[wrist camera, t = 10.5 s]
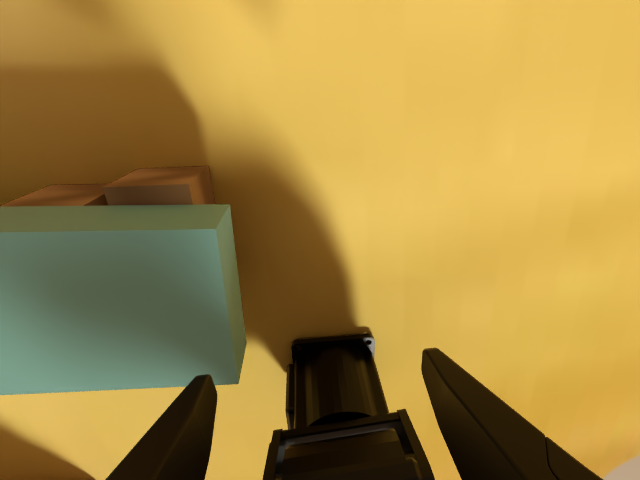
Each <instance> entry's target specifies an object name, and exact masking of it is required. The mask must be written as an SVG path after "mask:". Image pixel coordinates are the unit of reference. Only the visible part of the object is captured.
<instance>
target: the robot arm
mask: <svg viewBox="0 0 640 480" xmlns="http://www.w3.org/2000/svg"><path fill="white" fill-rule="evenodd" d="M367 340H369V341H367ZM296 346H300V347H296ZM291 349H292V358H293V363H292V364H289V365H288V366H287V383H286V417H287V424H288V430H282V429H279V430H274V431H273V436H272V441H271V443H270V444H269V449H268V454H267V460H266V465H265V470H264V475H263V480H435V479H434V475H433V473H432V470H431V467H430V464H429V462H428V459H427V457H426V455H425V452H424V450H423V448H422V446H421V443H420V441H419V439H418V437H417V434H416V432H415V430H414V427H413V425H412V423H411V421H410V418H409V416H408V414H407V412H406V409H402V410H397V412H393V413H389V411H388V407H387V404H386V400H385V397H384V393H383V389H382V386H381V382H380V379H379V375H378V372H377V368H376V365H375V361H374V349H375V341H374V337H373V336H372V335H371V334H361V335H349V336H337V337H325V338H313V339H301V340H295V341H293V342H292V346H291ZM421 369H422V375H423V378H424V382H425V385H426V388H427V391H428V394H429V397H430V401H431V404H432V407H433V410H434V413H435V416H436V419H437V422H438V425H439V428H440V430H441V433H442V435H443V437H444V440H445V442H446V444H447V447H448V449H449V451H450V454H451V456H452V458H453V461H454V463H455V465H456V467H457V470H458V472H459V474H460V477H461V479H462V480H603V479H602V478H600V477H599V476H598V475H596V474H595V473H593V472H592V471H591V470H589V469H588V468H587V467H585V466H584V465H583V464H581V463H580V462H579V461H577V460H576V459H575V458H574V457H572V456H571V455H570V454H568V453H567V452H566V451H565V450H563V449H562V448H561V447H560V446H558V445H557V444H556V443H555V442H553V441H552V440H551V439H550V438H548V437H545V435H544V434H543V433H542V432H541V431H540V430H538V429H537V428H536V427H535V426H533V425H532V424H531V423H530V422H528V421H527V420H526V419H525V418H523V417H522V416H521V415H520V414H518V413H517V412H516V411H515V410H514V409H512V408H511V407H510V406H509V405H507V404H506V403H505V402H504V401H502V400H501V399H500V398H499V397H497V396H496V395H495V394H494V393H492V392H491V391H490V390H489V389H488V388H486V387H485V386H484V385H483V384H481V383H480V382H479V381H478V380H476V379H475V378H474V377H473V376H471V375H470V374H469V373H468V372H466V371H465V370H464V369H463V368H461V367H460V366H459V365H458V364H457V363H455V362H454V361H453V360H452V359H450V358H449V357H448V356H447V355H445V354H444V353H443V352H442V351H440V350H439V349H438V348H428V349H424V350H423V354H422V367H421ZM216 405H217V391H216V388H215V385H214V382H213V379H212V377H211V375H210V374H205V375H198V376H196V377H194V379H193V380H192V381H191V382H190V383H189V384H188V385H187V387H186V388H185V389H184V390H183V391H182V392H181V393H180V395H179V396H178V397H177V398H176V399H175V400H174V402H173V403H172V404H171V405H170V406H169V407H168V408H167V410H166V411H165V412H164V413H163V414H162V415H161V416H160V418H159V419H158V420H157V421H156V422H155V423H154V424H153V426H152V427H151V428H150V429H149V430H148V431H147V433H146V434H145V435H144V436H143V437H142V438H141V439H140V441H139V442H138V443H137V444H136V445H135V446H134V447H133V449H132V450H131V451H130V452H129V453H128V454H127V455H126V457H125V458H124V459H123V460H122V461H121V462H120V464H119V465H118V466H117V467H116V468H115V469H114V470H113V472H112V473H111V474H110V475H109V476H108V477H107V478H106V480H204V479H205V475H206V470H207V466H208V462H209V457H210V451H211V445H212V437H213V429H214V421H215V413H216Z"/></svg>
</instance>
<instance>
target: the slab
mask: <svg viewBox="0 0 640 480" xmlns="http://www.w3.org/2000/svg"><path fill="white" fill-rule="evenodd" d="M246 343H247V342H246V334H245V326H244V318H243V309H242V301H241V293H240V284H239V276H238V268H237V260H236V251H235V243H234V235H233V226H232V218H231V210H230V204H200V205H109V206H18V207H0V395H14V394H35V393H57V392H78V391H99V390H121V389H142V388H164V387H185V386H187V385H188V384H189V383H190V382H191V381H192V380H193V379H194V377H196V376H198V375H205V374H210V375H211V377H212V379H213V382H214V385H228V384H238V383H239V378H240V373H241V368H242V363H243V358H244V353H245V348H246Z"/></svg>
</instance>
